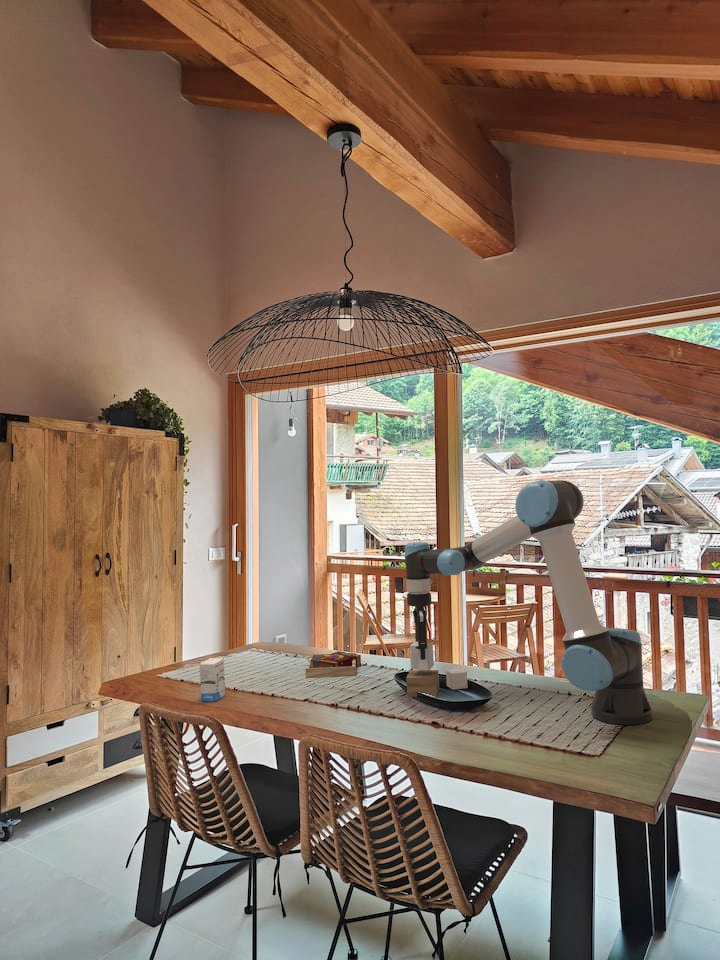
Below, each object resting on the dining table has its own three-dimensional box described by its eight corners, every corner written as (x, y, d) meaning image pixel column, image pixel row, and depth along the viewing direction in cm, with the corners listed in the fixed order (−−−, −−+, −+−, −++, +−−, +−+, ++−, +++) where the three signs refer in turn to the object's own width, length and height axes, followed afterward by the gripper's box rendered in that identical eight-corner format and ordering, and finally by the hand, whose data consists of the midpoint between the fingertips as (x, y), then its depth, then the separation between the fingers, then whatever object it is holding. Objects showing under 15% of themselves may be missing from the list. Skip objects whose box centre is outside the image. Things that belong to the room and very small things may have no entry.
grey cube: (467, 688, 217) (466, 672, 217) (452, 689, 215) (451, 673, 216) (461, 684, 221) (460, 668, 222) (446, 685, 220) (446, 670, 220)
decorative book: (362, 666, 252) (361, 653, 252) (332, 676, 239) (331, 662, 239) (338, 663, 259) (338, 649, 259) (308, 672, 246) (308, 658, 247)
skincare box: (415, 664, 218) (414, 641, 218) (434, 665, 216) (433, 641, 216) (410, 669, 212) (409, 645, 212) (429, 670, 210) (428, 645, 210)
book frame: (355, 675, 238) (354, 666, 238) (306, 677, 238) (305, 669, 238) (356, 660, 260) (355, 652, 260) (311, 662, 260) (310, 654, 260)
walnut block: (436, 697, 208) (435, 677, 208) (407, 697, 210) (406, 677, 210) (439, 689, 217) (438, 670, 217) (411, 689, 219) (410, 670, 219)
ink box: (215, 702, 213) (213, 663, 214) (200, 702, 214) (198, 663, 215) (226, 694, 222) (224, 657, 222) (211, 694, 223) (210, 657, 223)
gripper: (434, 596, 204) (437, 674, 204) (428, 587, 224) (431, 658, 224) (408, 597, 204) (412, 675, 204) (404, 588, 225) (408, 659, 224)
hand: (422, 666), depth 214 cm, fingers closed on skincare box, 7 cm apart
